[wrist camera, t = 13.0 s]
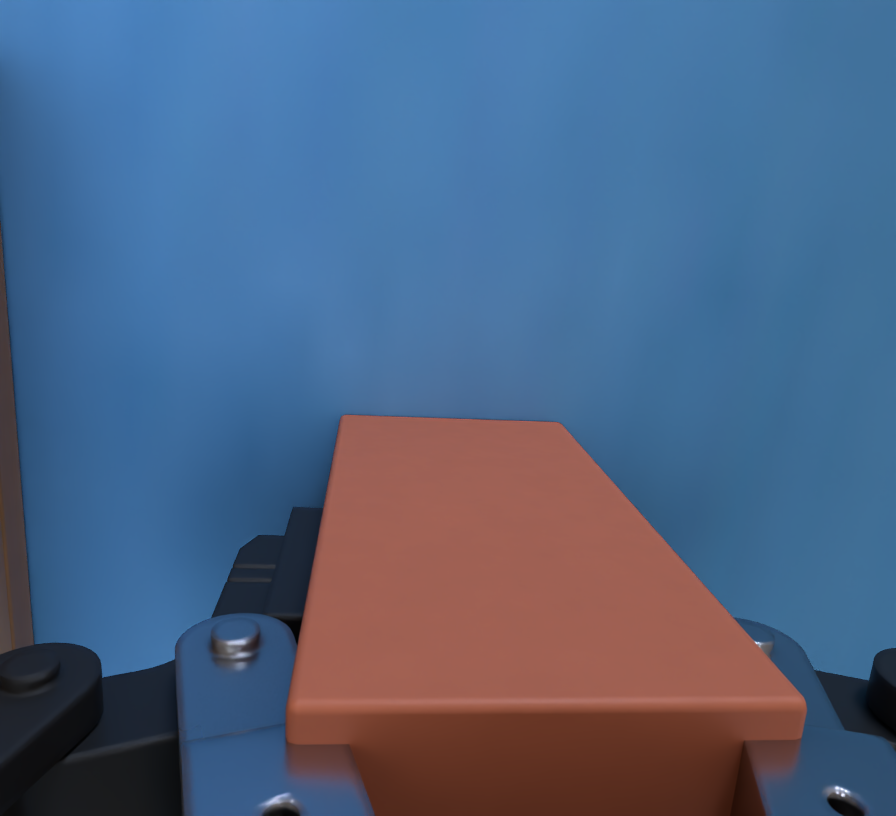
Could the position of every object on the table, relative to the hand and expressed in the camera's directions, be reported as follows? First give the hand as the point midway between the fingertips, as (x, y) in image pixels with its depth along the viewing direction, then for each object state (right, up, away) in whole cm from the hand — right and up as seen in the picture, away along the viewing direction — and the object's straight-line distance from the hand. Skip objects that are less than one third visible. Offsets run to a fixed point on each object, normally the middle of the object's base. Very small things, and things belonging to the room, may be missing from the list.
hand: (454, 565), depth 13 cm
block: (0, 0, +2) cm, 2 cm away
